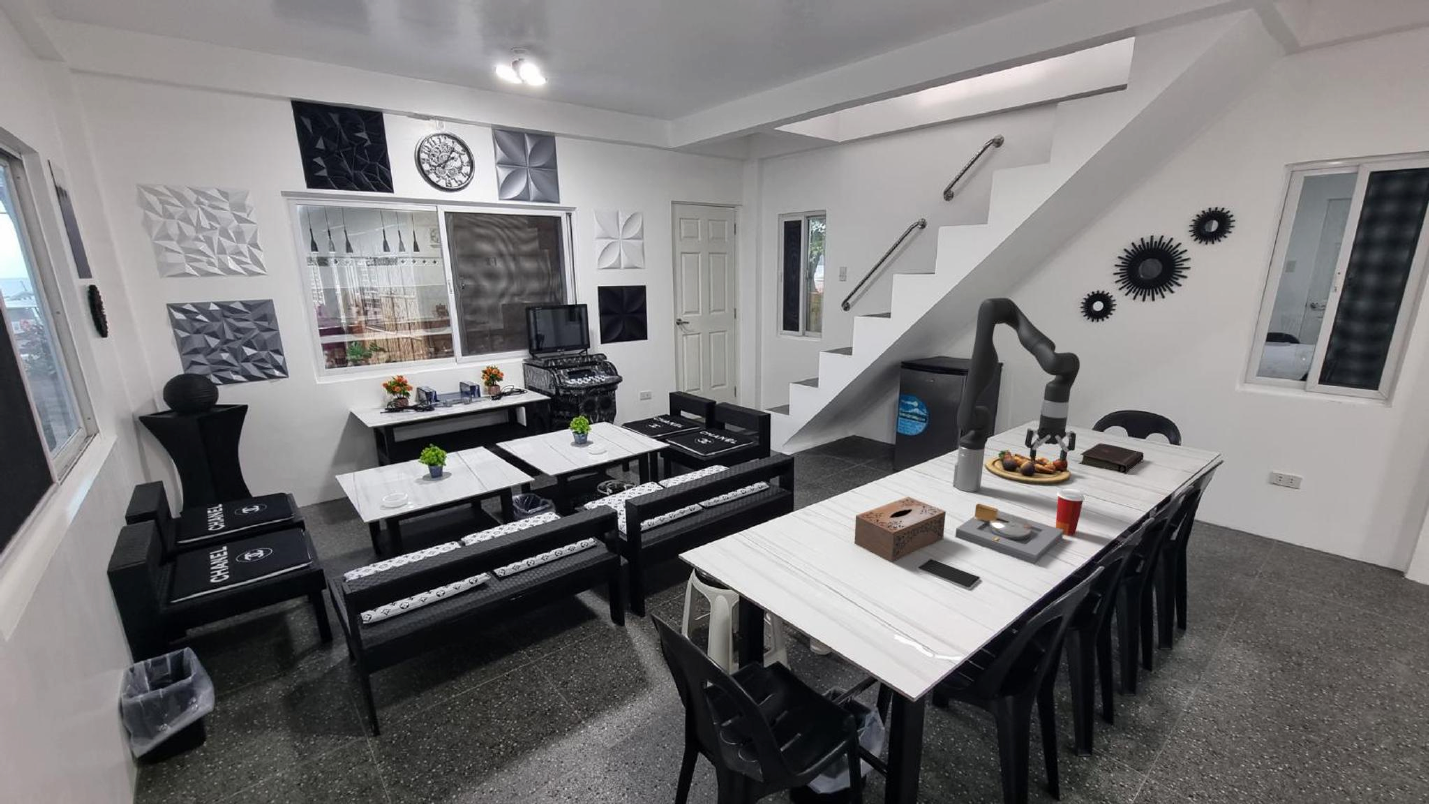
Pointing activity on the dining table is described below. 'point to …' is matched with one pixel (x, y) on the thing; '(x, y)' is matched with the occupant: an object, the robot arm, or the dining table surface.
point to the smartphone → (949, 574)
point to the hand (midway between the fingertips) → (1047, 460)
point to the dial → (1004, 523)
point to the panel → (1024, 550)
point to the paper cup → (1068, 510)
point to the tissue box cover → (899, 528)
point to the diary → (1111, 457)
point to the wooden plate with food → (1028, 469)
